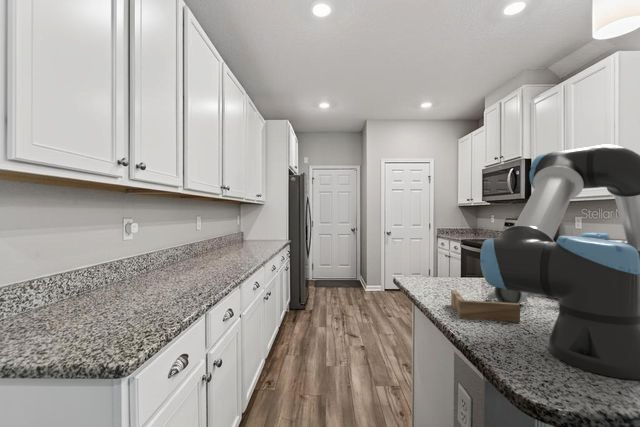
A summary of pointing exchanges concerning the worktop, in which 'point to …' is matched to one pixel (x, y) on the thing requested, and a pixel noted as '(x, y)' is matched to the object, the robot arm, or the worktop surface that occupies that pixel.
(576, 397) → the worktop surface
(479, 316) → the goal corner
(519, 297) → the ceramic mug
